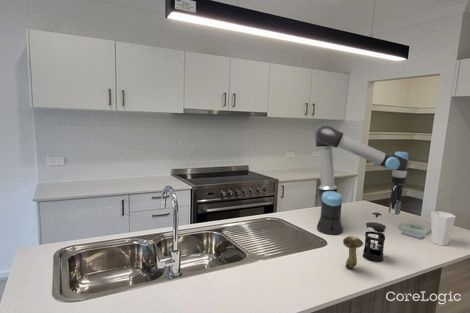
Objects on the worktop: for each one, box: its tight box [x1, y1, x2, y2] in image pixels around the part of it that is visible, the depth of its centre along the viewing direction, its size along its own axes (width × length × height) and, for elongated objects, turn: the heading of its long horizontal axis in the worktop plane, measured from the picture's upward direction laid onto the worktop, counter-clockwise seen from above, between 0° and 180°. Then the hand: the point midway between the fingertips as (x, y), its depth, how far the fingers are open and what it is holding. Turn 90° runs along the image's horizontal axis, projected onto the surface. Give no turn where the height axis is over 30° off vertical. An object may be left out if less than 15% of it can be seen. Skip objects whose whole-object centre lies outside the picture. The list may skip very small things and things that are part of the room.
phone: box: [400, 230, 426, 241], centre depth 175 cm, size 11×6×1 cm, turn 39°
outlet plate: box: [400, 221, 432, 237], centre depth 184 cm, size 14×14×2 cm
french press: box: [362, 212, 387, 263], centre depth 143 cm, size 12×9×23 cm
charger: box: [388, 200, 402, 216], centre depth 183 cm, size 5×5×8 cm
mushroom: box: [342, 235, 364, 270], centre depth 132 cm, size 9×9×15 cm
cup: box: [430, 210, 456, 247], centre depth 163 cm, size 11×10×17 cm
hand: (394, 212), depth 184 cm, fingers closed on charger, 5 cm apart
